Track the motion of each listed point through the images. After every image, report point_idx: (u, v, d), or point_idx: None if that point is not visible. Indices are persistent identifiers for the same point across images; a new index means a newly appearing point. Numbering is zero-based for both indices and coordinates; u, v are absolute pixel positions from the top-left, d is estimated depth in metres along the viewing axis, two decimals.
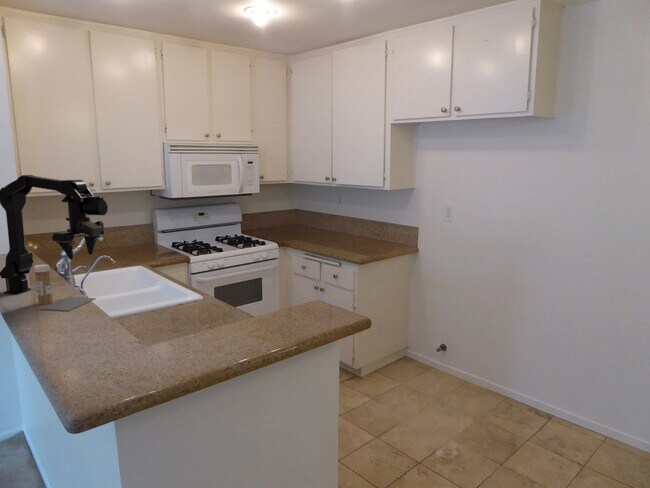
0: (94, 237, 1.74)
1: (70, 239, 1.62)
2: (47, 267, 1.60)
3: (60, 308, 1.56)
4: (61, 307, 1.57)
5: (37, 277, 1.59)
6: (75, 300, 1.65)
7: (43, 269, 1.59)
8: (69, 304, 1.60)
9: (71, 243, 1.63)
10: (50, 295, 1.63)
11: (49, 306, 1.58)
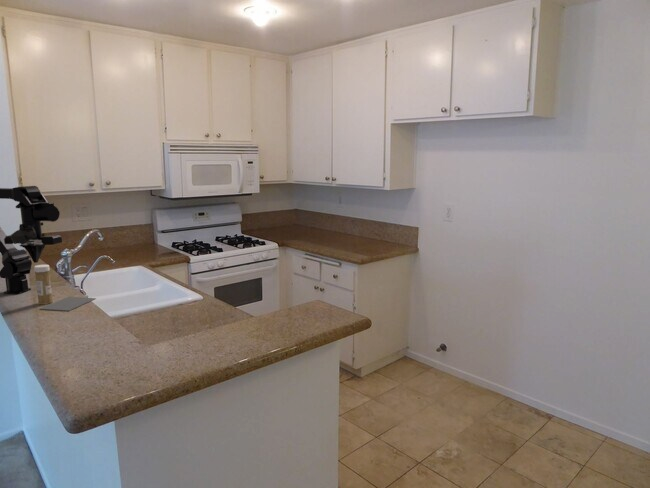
0: None
1: (9, 242, 1.68)
2: (47, 267, 1.60)
3: (60, 308, 1.56)
4: (61, 307, 1.57)
5: (37, 277, 1.59)
6: (75, 300, 1.65)
7: (43, 269, 1.59)
8: (69, 304, 1.60)
9: (24, 247, 1.69)
10: (50, 295, 1.63)
11: (49, 306, 1.58)
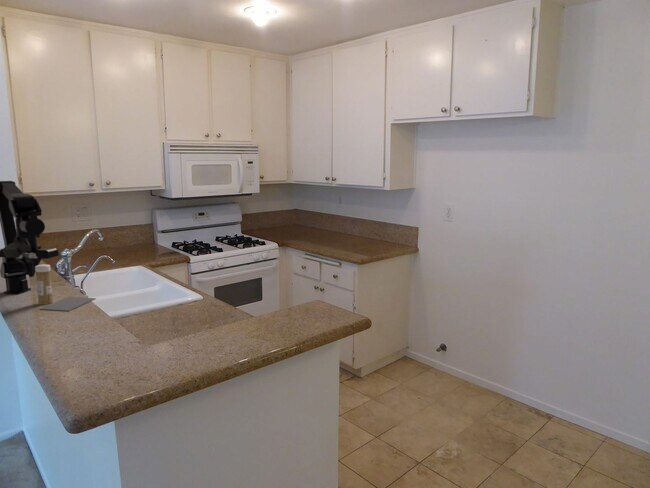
0: None
1: (3, 256, 1.59)
2: (48, 267, 1.60)
3: (60, 308, 1.56)
4: (61, 307, 1.57)
5: (38, 277, 1.59)
6: (75, 300, 1.65)
7: (44, 269, 1.59)
8: (69, 304, 1.60)
9: (19, 260, 1.59)
10: (51, 295, 1.63)
11: (49, 306, 1.58)
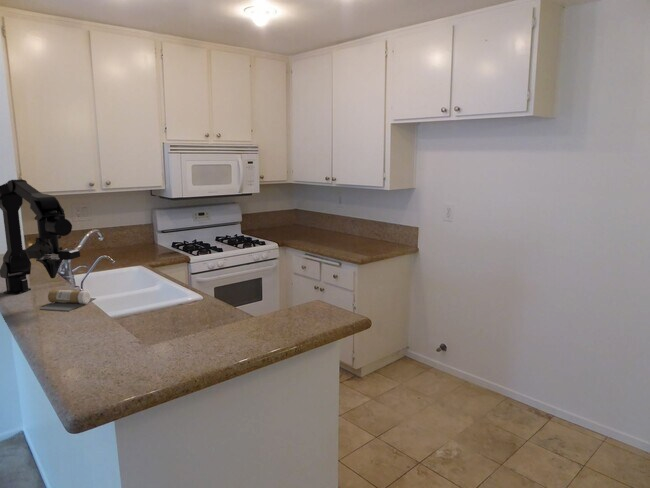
0: None
1: (25, 257, 1.57)
2: (84, 303, 1.61)
3: (60, 308, 1.56)
4: (61, 307, 1.57)
5: (73, 296, 1.59)
6: None
7: (81, 302, 1.59)
8: (69, 304, 1.60)
9: (41, 261, 1.58)
10: (59, 302, 1.63)
11: (49, 306, 1.58)
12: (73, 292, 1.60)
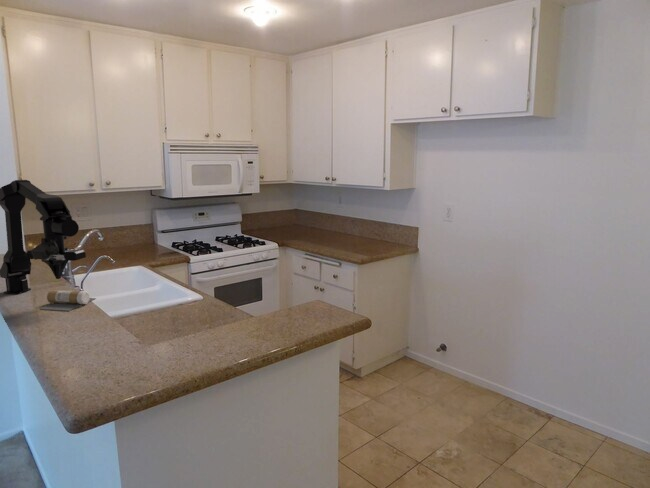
0: None
1: (30, 257, 1.57)
2: None
3: (60, 308, 1.56)
4: (61, 307, 1.57)
5: (72, 297, 1.59)
6: None
7: (81, 303, 1.59)
8: (69, 304, 1.60)
9: (46, 262, 1.57)
10: None
11: (49, 306, 1.58)
12: (71, 293, 1.59)
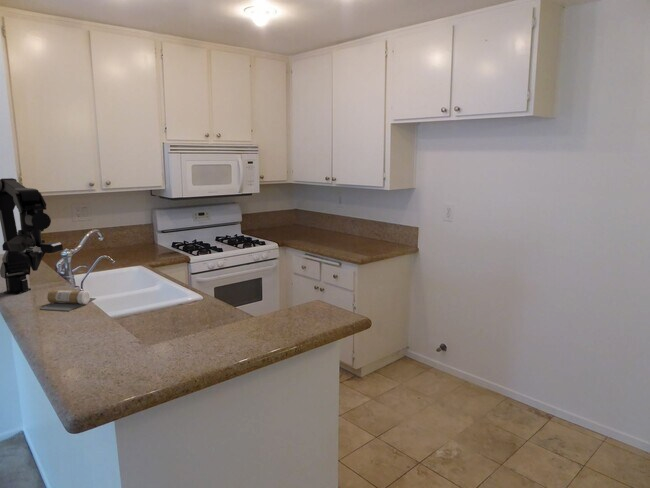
0: None
1: (7, 249, 1.58)
2: (84, 303, 1.61)
3: (60, 308, 1.56)
4: (61, 307, 1.57)
5: (72, 297, 1.59)
6: None
7: (81, 303, 1.59)
8: (69, 304, 1.60)
9: (23, 254, 1.58)
10: None
11: (49, 306, 1.58)
12: (72, 293, 1.60)
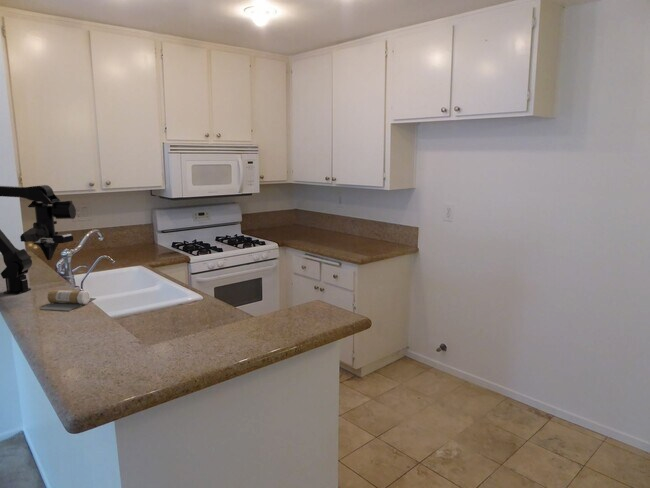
0: None
1: (24, 240, 1.73)
2: (84, 303, 1.61)
3: (60, 308, 1.56)
4: (61, 307, 1.57)
5: (72, 297, 1.59)
6: None
7: (81, 303, 1.59)
8: (69, 304, 1.60)
9: (38, 244, 1.73)
10: None
11: (49, 306, 1.58)
12: (72, 293, 1.60)
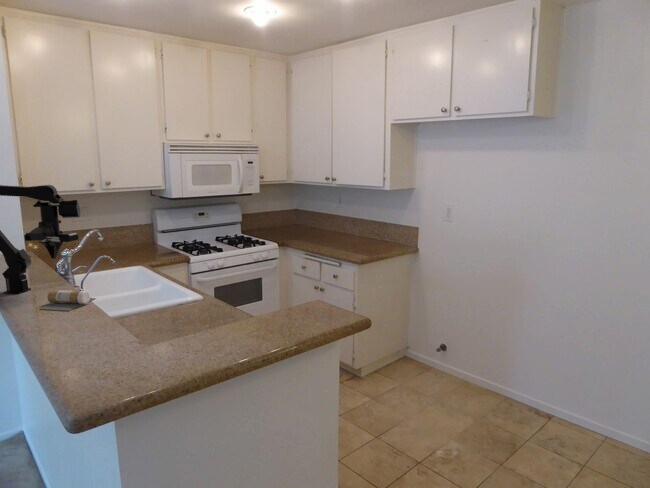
0: None
1: (28, 239, 1.75)
2: (84, 303, 1.61)
3: (60, 308, 1.56)
4: (61, 307, 1.57)
5: (72, 297, 1.59)
6: None
7: (81, 303, 1.59)
8: (69, 304, 1.60)
9: (43, 243, 1.76)
10: None
11: (49, 306, 1.58)
12: (72, 293, 1.60)
